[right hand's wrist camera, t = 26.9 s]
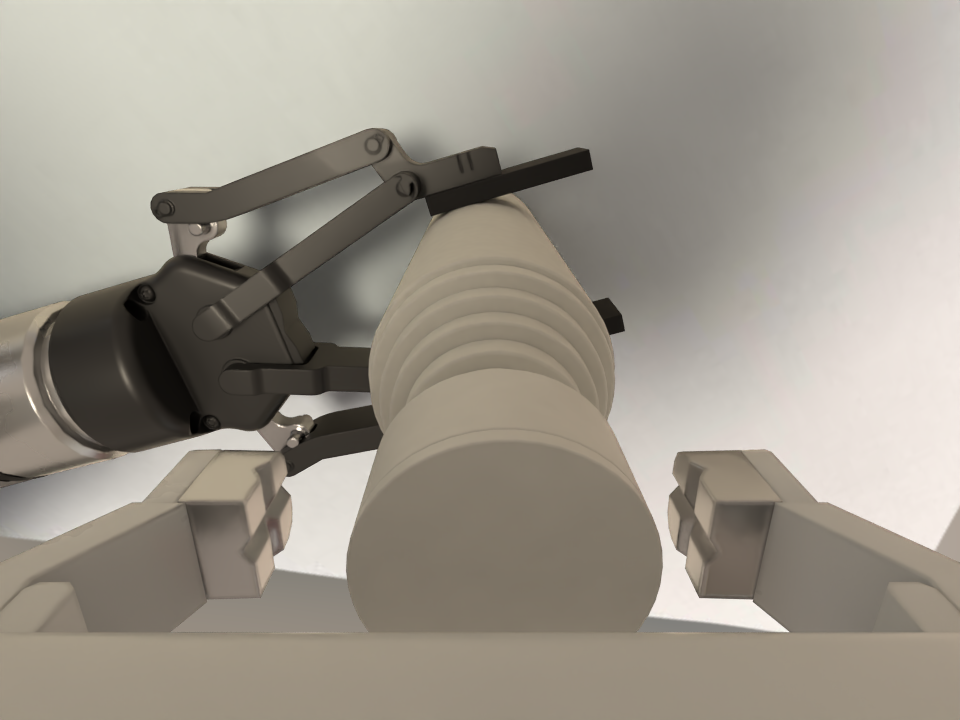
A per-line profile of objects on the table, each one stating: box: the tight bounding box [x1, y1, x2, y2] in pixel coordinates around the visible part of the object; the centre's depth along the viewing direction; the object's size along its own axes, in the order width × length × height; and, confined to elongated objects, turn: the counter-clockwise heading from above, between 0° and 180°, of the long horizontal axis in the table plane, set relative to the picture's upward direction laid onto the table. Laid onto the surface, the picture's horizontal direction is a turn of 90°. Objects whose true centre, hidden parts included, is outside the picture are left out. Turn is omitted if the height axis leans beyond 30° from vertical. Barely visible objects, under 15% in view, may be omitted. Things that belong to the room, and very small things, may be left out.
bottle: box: [369, 193, 615, 434], centre depth 20 cm, size 6×6×24 cm
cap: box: [346, 369, 663, 632], centre depth 9 cm, size 4×4×2 cm
